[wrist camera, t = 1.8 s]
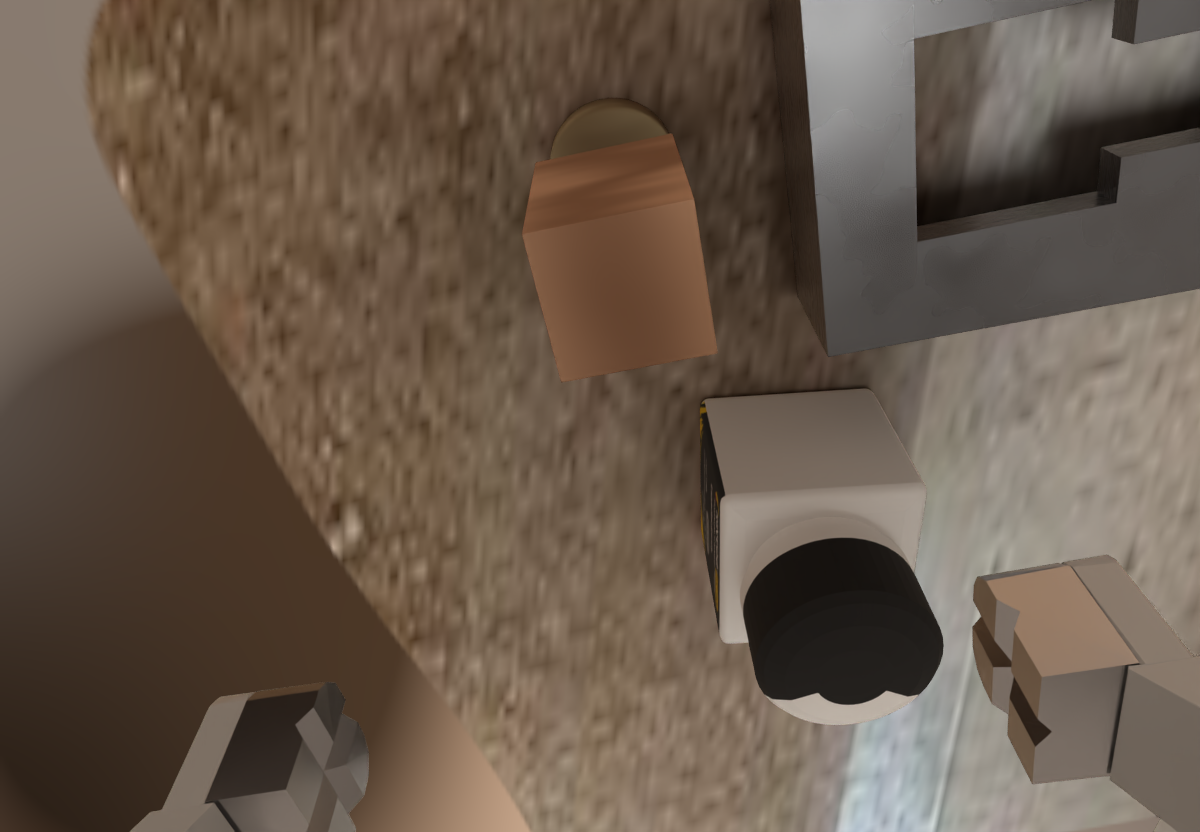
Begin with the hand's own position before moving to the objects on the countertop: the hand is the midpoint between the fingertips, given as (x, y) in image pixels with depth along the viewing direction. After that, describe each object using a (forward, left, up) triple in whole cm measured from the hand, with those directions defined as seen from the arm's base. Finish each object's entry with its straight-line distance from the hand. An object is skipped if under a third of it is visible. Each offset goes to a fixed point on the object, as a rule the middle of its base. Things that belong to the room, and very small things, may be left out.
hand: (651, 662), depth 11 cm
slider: (0, 0, -23) cm, 23 cm away
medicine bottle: (-13, +7, -23) cm, 28 cm away
